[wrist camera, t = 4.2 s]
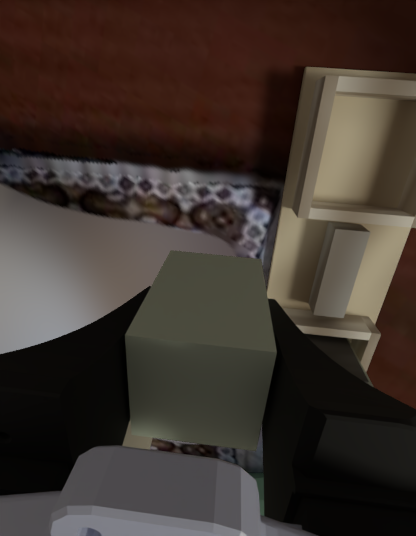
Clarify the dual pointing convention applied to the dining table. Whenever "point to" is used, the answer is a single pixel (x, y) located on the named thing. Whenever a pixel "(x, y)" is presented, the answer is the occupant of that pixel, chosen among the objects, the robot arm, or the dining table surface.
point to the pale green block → (202, 352)
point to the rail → (345, 208)
